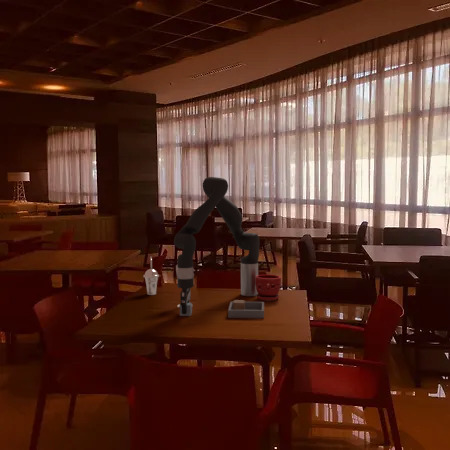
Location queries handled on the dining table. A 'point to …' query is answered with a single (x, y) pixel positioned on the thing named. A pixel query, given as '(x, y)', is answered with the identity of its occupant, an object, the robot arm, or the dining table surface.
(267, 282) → the plant pot
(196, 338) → the dining table surface
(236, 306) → the walnut block
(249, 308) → the tray
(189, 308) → the slate block
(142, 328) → the dining table surface
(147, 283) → the cup with straw
